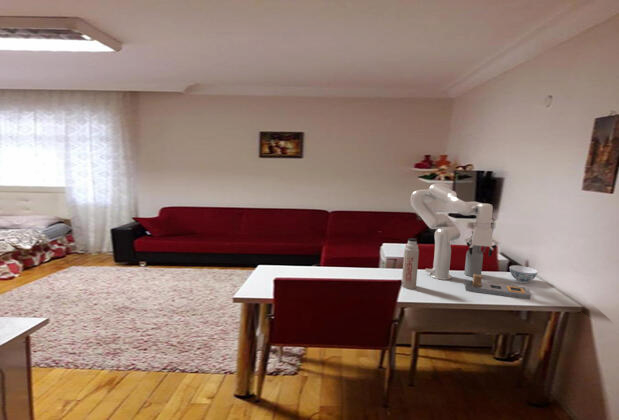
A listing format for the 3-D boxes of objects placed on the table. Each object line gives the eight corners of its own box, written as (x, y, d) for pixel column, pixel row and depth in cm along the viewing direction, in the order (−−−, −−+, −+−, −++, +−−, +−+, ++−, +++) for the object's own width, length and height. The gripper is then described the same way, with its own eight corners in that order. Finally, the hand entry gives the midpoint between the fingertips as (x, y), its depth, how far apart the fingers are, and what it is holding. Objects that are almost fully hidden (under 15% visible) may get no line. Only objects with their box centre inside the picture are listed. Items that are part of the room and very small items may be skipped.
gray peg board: (465, 290, 204) (466, 286, 204) (464, 283, 216) (464, 279, 215) (530, 299, 195) (530, 294, 194) (524, 291, 206) (525, 287, 206)
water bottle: (484, 276, 230) (489, 233, 226) (474, 278, 226) (478, 234, 221) (471, 271, 239) (475, 230, 235) (460, 273, 235) (465, 231, 230)
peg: (472, 289, 207) (474, 276, 206) (472, 287, 211) (473, 273, 209) (480, 290, 206) (481, 276, 204) (479, 288, 209) (481, 274, 208)
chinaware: (534, 287, 214) (536, 274, 212) (506, 281, 222) (507, 269, 221) (537, 281, 225) (539, 269, 224) (510, 275, 234) (511, 264, 233)
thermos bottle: (411, 290, 202) (415, 241, 198) (399, 286, 208) (402, 238, 203) (418, 286, 208) (422, 239, 204) (405, 283, 213) (409, 236, 209)
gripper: (467, 225, 202) (464, 255, 204) (501, 228, 196) (498, 258, 199) (465, 223, 209) (463, 252, 211) (499, 225, 203) (495, 255, 206)
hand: (480, 255), depth 205 cm, fingers open, 9 cm apart
